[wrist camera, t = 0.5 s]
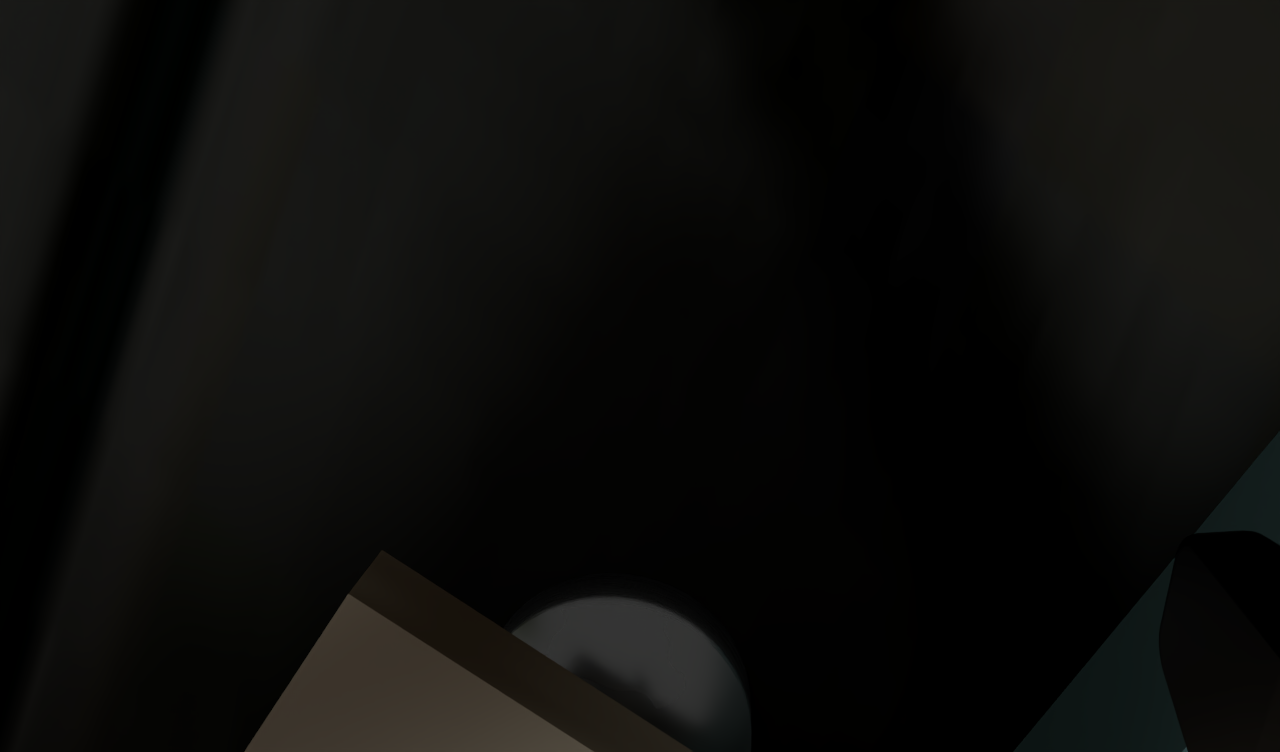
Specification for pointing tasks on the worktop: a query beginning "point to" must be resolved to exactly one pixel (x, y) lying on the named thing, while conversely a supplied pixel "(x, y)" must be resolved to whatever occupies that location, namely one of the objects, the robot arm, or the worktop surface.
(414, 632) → the oak plinth shelf
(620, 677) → the steel token
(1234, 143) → the worktop surface
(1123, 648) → the dark grey-teal rectangular block
